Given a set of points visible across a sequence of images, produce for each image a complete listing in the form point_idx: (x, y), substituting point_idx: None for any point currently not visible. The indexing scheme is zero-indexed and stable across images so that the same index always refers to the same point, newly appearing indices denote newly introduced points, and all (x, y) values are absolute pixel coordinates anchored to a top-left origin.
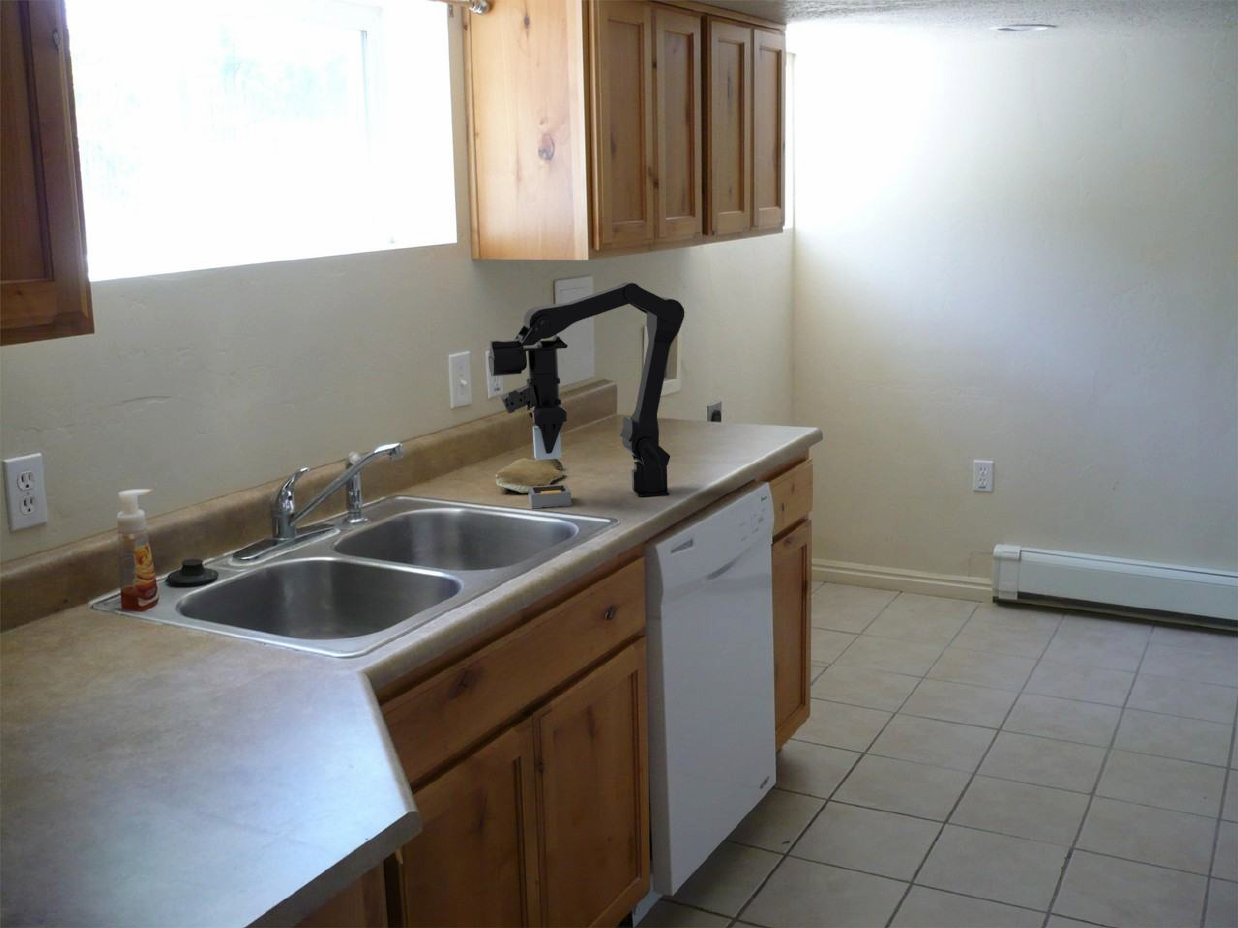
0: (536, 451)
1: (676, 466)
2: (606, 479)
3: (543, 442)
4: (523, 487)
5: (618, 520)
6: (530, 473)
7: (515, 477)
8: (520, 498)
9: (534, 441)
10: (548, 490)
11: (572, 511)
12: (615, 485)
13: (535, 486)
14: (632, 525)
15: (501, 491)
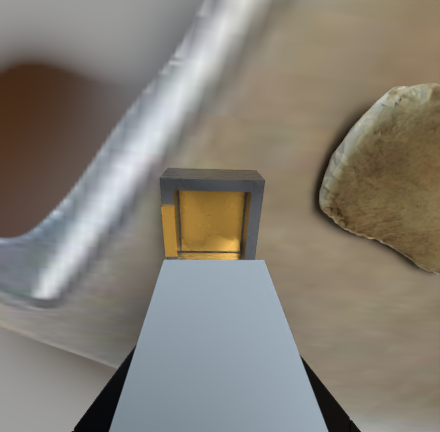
0: (154, 296)
1: (368, 399)
2: (354, 325)
3: None
4: (334, 170)
5: (45, 309)
6: (434, 207)
7: (408, 157)
8: (289, 152)
9: (196, 344)
10: (245, 228)
11: (125, 249)
12: (302, 331)
13: (261, 202)
14: (9, 322)
15: None
